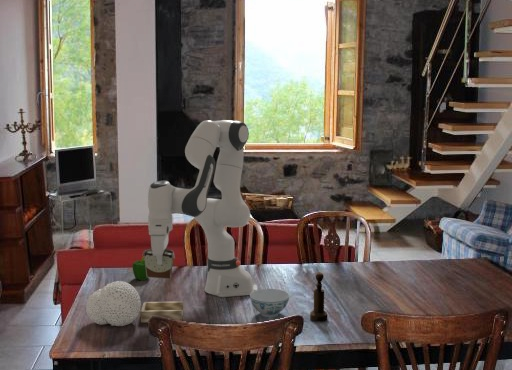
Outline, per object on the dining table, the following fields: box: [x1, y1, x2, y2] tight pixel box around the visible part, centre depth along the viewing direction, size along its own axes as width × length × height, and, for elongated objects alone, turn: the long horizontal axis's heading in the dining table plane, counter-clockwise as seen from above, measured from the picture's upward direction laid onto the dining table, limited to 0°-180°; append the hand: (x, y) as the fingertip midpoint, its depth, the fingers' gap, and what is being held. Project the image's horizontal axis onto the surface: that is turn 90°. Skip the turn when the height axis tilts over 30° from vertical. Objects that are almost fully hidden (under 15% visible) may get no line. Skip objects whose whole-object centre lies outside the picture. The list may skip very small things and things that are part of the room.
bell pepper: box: [132, 256, 149, 281], centre depth 306 cm, size 8×8×10 cm
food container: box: [142, 248, 176, 280], centre depth 258 cm, size 12×6×10 cm, turn 77°
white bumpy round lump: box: [85, 280, 142, 327], centre depth 251 cm, size 20×18×16 cm
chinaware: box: [249, 288, 290, 318], centre depth 263 cm, size 15×15×8 cm
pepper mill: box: [309, 272, 328, 323], centre depth 257 cm, size 7×6×18 cm
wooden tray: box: [140, 301, 184, 323], centre depth 259 cm, size 15×10×4 cm
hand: (161, 261), depth 257 cm, fingers closed on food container, 6 cm apart
